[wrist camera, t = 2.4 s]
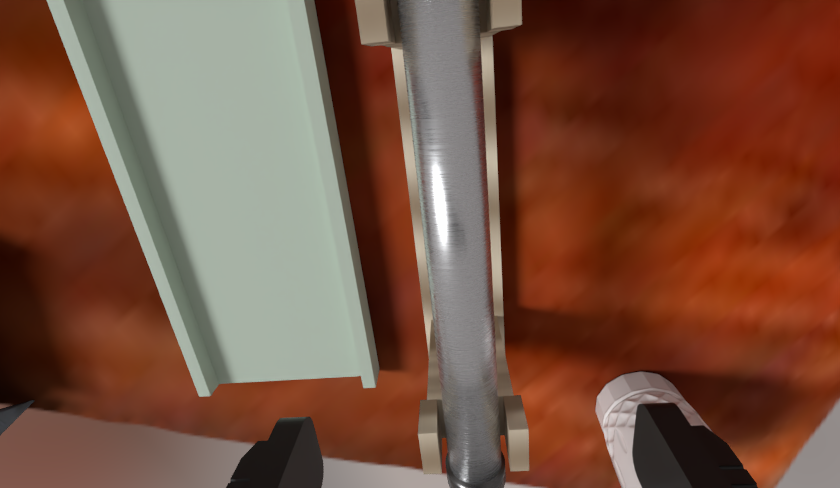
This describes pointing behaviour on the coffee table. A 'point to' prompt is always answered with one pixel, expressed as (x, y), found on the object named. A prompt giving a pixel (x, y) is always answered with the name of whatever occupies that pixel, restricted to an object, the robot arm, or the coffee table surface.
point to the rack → (383, 28)
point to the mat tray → (230, 179)
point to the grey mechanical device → (12, 414)
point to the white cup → (634, 416)
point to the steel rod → (456, 226)
